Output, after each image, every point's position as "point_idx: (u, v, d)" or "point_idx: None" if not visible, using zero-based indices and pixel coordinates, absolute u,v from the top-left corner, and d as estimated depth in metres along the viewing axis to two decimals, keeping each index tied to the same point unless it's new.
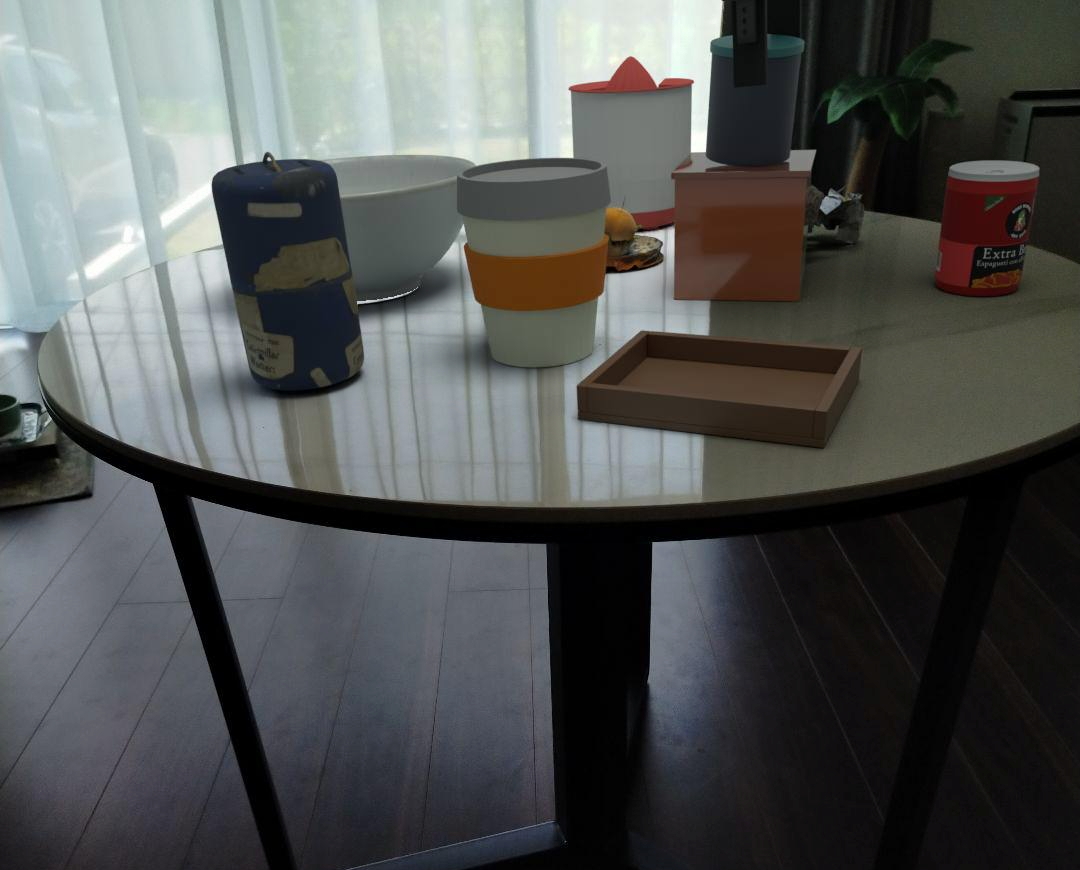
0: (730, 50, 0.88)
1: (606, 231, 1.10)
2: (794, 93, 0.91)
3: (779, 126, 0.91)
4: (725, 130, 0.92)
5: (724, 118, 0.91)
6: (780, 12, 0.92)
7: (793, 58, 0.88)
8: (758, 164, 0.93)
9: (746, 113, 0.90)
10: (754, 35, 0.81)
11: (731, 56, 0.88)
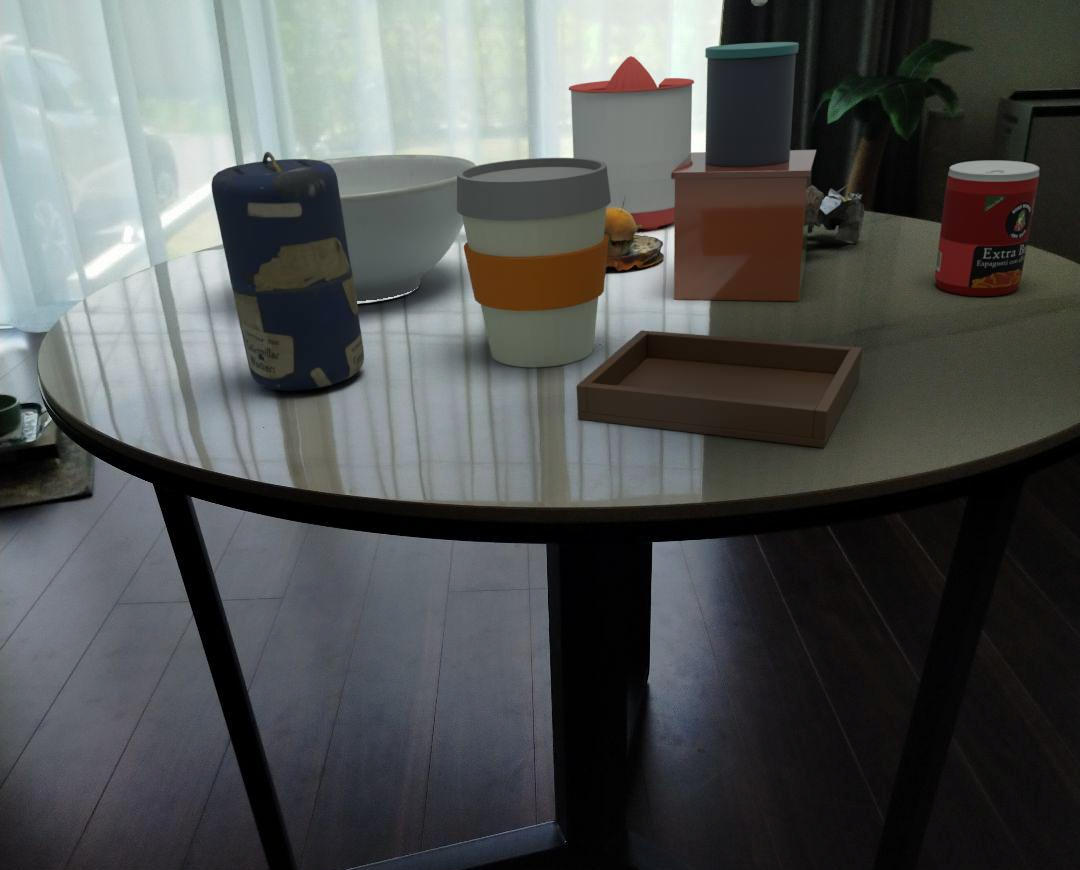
0: (725, 51, 0.89)
1: (606, 231, 1.10)
2: (791, 93, 0.91)
3: (777, 126, 0.91)
4: (723, 132, 0.92)
5: (722, 120, 0.92)
6: None
7: (788, 58, 0.89)
8: (758, 164, 0.93)
9: (743, 113, 0.91)
10: None
11: (726, 57, 0.89)
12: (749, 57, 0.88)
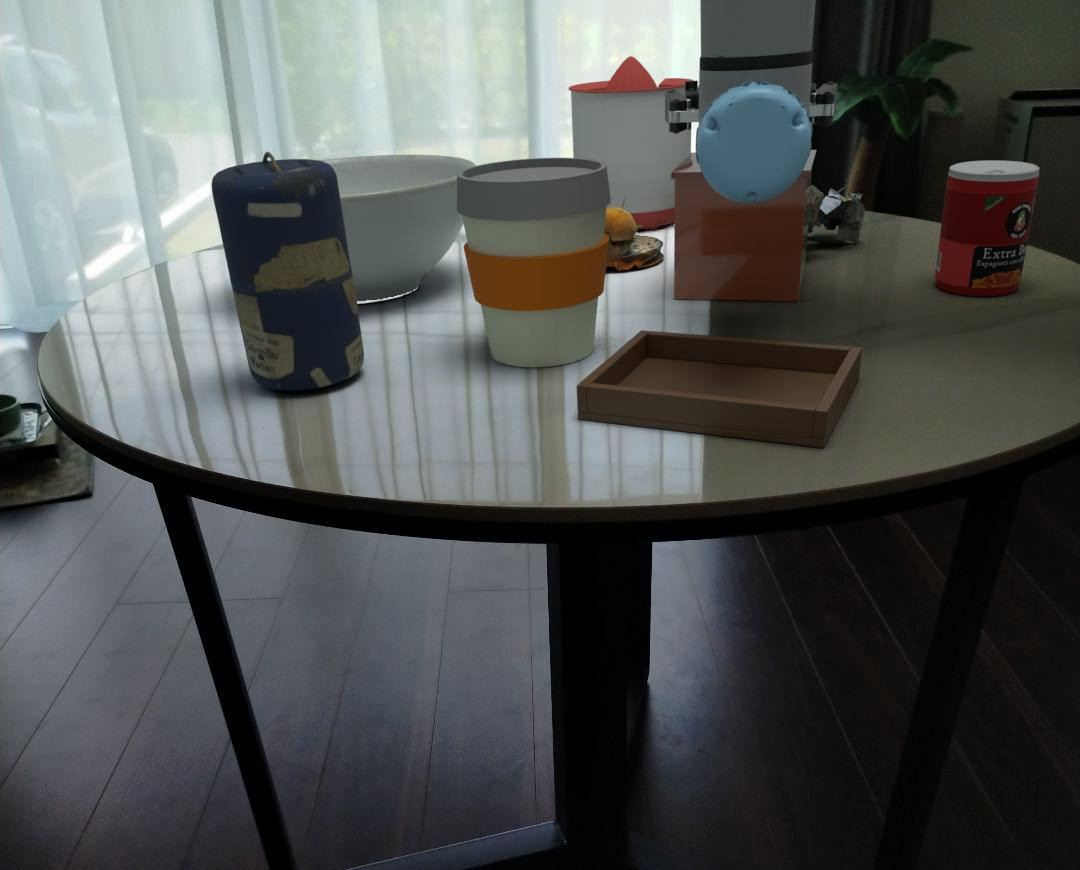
0: None
1: (606, 231, 1.10)
2: None
3: None
4: None
5: None
6: None
7: None
8: None
9: None
10: None
11: None
12: None
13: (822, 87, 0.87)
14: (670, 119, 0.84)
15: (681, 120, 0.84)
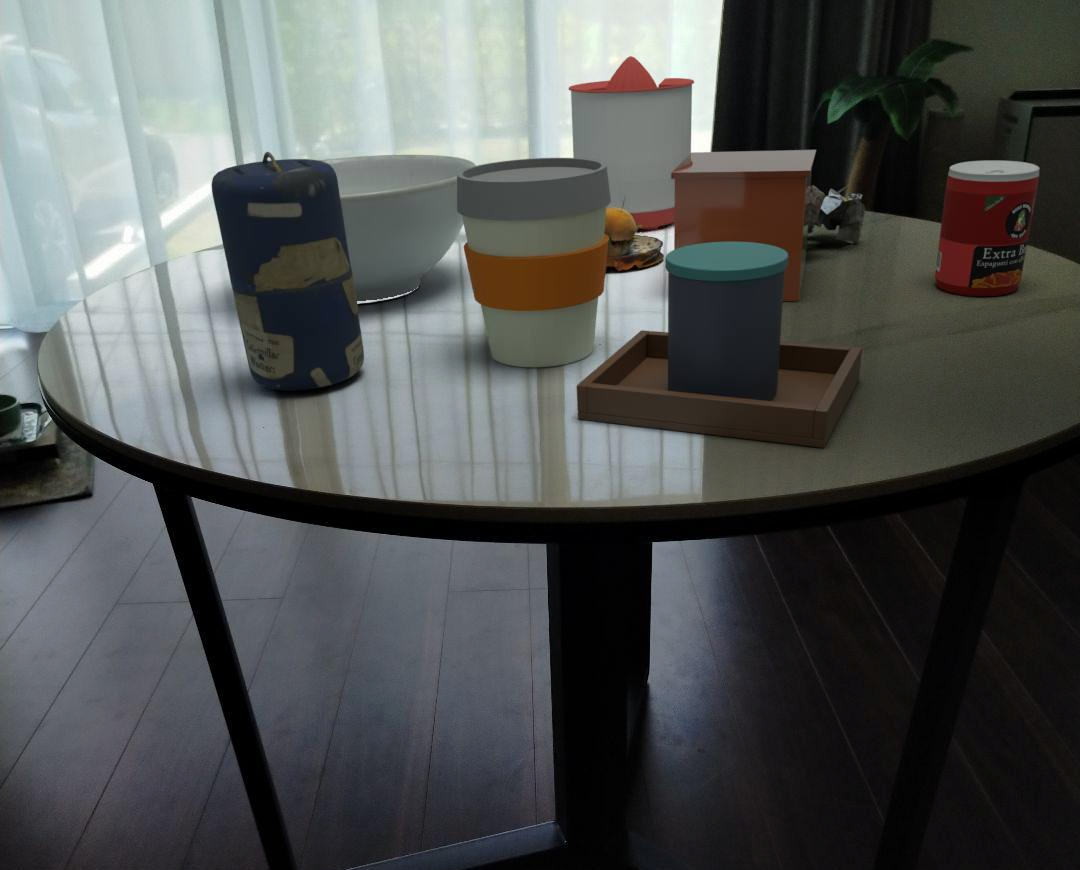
0: (690, 271, 0.67)
1: (606, 231, 1.10)
2: (778, 318, 0.69)
3: (760, 361, 0.69)
4: (689, 366, 0.70)
5: (687, 351, 0.70)
6: None
7: (774, 278, 0.67)
8: None
9: (715, 347, 0.68)
10: None
11: (691, 278, 0.67)
12: (722, 280, 0.66)
13: None
14: None
15: None
